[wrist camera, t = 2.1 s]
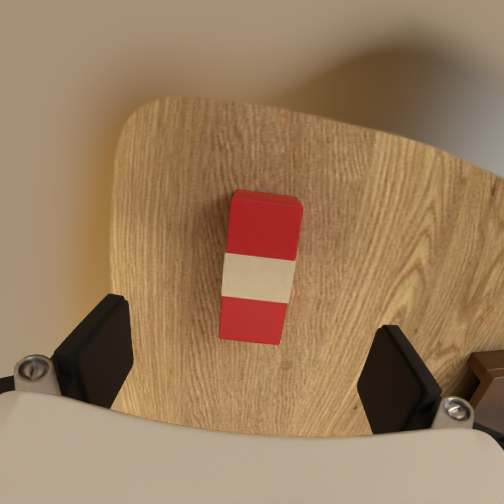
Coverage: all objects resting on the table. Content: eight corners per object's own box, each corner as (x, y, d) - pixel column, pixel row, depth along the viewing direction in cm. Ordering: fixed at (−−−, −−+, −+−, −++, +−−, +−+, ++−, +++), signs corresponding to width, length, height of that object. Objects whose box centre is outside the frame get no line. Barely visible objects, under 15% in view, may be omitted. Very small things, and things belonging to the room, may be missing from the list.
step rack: (472, 352, 21) (528, 425, 11) (558, 342, 21) (601, 385, 12) (388, 478, 28) (405, 540, 18) (484, 454, 28) (506, 499, 18)
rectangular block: (235, 189, 17) (229, 197, 14) (297, 197, 17) (305, 206, 15) (223, 312, 20) (217, 339, 17) (277, 319, 20) (280, 346, 17)
